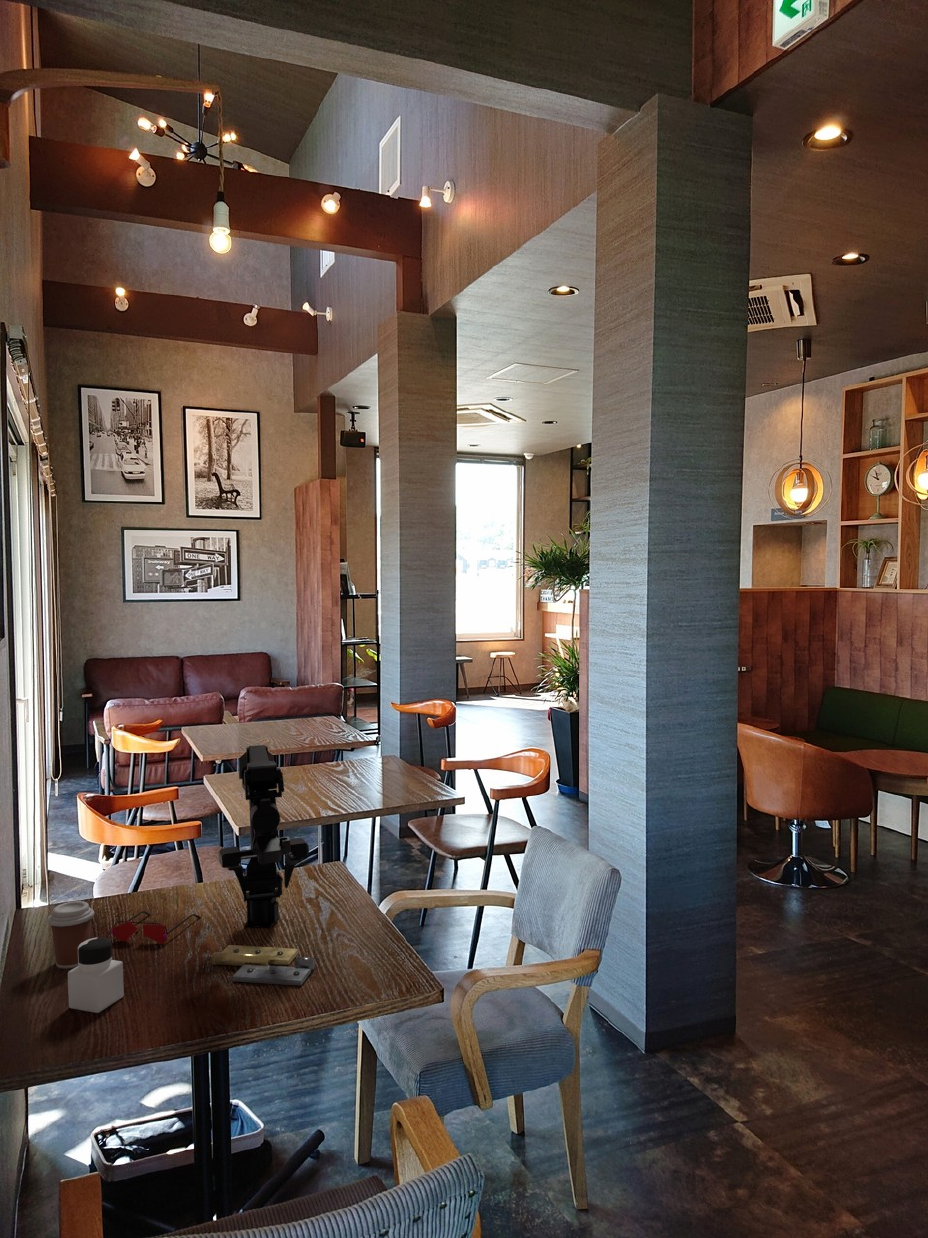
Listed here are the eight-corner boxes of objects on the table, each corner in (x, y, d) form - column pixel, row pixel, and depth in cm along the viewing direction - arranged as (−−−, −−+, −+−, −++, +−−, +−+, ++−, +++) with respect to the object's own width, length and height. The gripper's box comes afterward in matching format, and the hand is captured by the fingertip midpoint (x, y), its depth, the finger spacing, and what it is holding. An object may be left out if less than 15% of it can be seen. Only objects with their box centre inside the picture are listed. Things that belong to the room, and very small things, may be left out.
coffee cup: (86, 949, 191) (84, 896, 190) (102, 961, 184) (100, 906, 184) (42, 962, 185) (40, 907, 184) (58, 975, 178) (56, 918, 178)
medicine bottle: (124, 996, 168) (122, 936, 168) (98, 1014, 161) (96, 951, 161) (95, 991, 171) (93, 932, 170) (68, 1008, 164) (65, 946, 163)
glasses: (109, 943, 195) (109, 922, 195) (149, 916, 211) (148, 896, 211) (166, 947, 192) (165, 925, 192) (201, 919, 208) (201, 899, 208)
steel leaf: (232, 981, 174) (232, 969, 174) (249, 963, 182) (249, 952, 182) (300, 985, 171) (300, 974, 171) (315, 967, 180) (315, 956, 179)
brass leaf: (211, 966, 181) (211, 955, 181) (229, 949, 189) (228, 938, 189) (283, 970, 178) (283, 959, 178) (298, 953, 186) (298, 942, 186)
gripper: (224, 835, 177) (227, 910, 178) (314, 824, 185) (315, 896, 185) (217, 822, 187) (219, 893, 188) (302, 812, 195) (304, 880, 195)
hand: (265, 891), depth 189 cm, fingers open, 9 cm apart
